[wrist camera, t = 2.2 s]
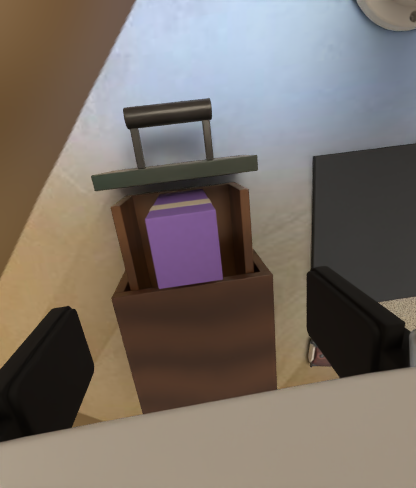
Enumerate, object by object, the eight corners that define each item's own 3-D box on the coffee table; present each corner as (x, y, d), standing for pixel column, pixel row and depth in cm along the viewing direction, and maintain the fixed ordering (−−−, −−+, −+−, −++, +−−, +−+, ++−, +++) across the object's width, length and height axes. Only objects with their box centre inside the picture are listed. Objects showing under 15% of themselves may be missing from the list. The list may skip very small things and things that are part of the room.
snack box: (158, 194, 27) (144, 218, 16) (202, 188, 27) (216, 209, 16) (167, 240, 28) (158, 289, 18) (208, 235, 28) (223, 280, 18)
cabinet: (130, 259, 31) (111, 298, 22) (248, 243, 32) (273, 274, 23) (154, 364, 36) (146, 427, 28) (256, 348, 37) (277, 404, 28)
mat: (313, 156, 29) (315, 156, 28) (448, 139, 30) (453, 138, 29) (310, 310, 35) (312, 312, 35) (421, 292, 36) (425, 294, 36)
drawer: (101, 119, 25) (73, 106, 18) (235, 104, 26) (253, 86, 19) (141, 295, 31) (130, 332, 25) (248, 279, 32) (265, 311, 26)
